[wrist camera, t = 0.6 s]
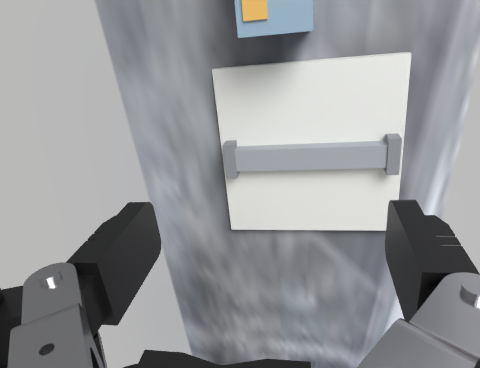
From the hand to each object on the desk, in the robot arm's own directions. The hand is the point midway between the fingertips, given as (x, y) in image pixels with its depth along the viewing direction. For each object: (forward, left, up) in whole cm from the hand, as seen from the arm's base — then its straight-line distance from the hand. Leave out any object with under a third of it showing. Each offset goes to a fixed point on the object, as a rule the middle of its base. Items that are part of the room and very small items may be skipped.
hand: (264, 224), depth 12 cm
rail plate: (+5, +1, -22) cm, 23 cm away
